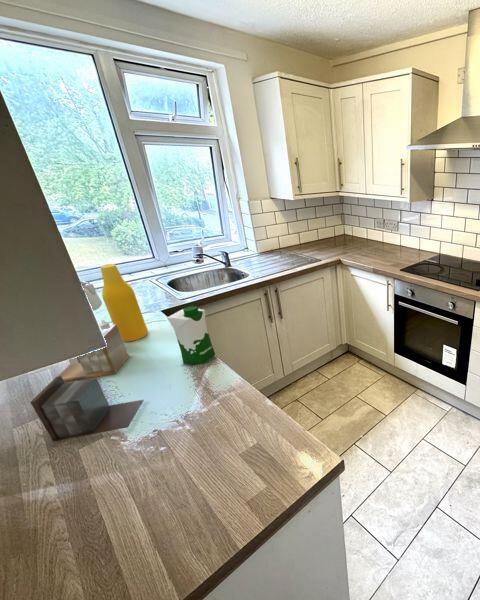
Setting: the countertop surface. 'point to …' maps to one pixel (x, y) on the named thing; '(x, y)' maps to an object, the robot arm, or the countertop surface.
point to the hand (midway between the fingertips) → (67, 325)
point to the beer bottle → (122, 305)
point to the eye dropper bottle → (104, 325)
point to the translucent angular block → (100, 359)
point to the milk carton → (192, 335)
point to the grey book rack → (80, 409)
